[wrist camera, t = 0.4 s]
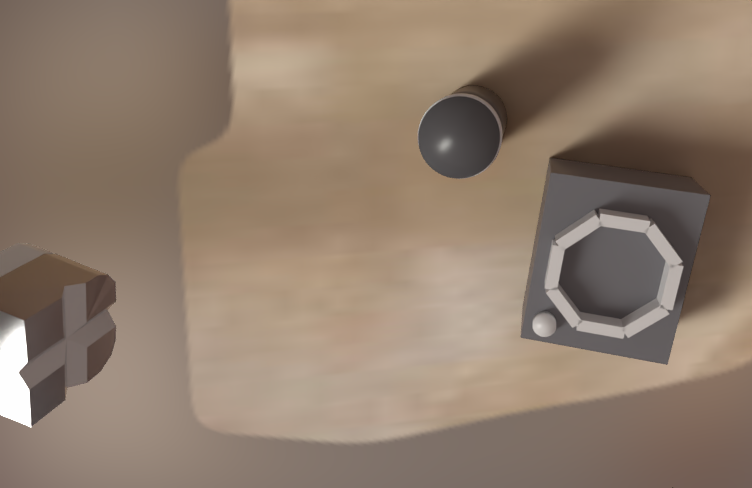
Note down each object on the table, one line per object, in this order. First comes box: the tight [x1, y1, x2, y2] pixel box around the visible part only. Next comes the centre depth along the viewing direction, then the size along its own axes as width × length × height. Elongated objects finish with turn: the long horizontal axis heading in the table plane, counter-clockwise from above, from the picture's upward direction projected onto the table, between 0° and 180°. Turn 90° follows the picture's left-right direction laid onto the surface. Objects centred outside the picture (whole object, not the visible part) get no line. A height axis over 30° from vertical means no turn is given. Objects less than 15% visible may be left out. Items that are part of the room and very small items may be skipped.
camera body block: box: [521, 158, 710, 365], centre depth 50 cm, size 12×10×8 cm
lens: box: [418, 86, 507, 179], centre depth 48 cm, size 5×5×10 cm
